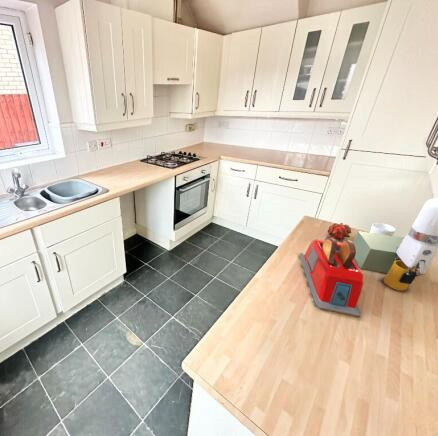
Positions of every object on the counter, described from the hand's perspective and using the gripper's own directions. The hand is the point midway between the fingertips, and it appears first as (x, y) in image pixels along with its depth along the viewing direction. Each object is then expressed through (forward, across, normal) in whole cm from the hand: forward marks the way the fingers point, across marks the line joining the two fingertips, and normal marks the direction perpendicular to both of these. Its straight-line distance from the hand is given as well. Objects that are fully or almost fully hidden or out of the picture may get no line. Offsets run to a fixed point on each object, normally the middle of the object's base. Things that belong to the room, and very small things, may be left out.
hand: (399, 275), depth 89 cm
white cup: (+5, +29, -4) cm, 30 cm away
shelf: (+4, +14, 0) cm, 15 cm away
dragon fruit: (+5, +30, +11) cm, 32 cm away
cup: (+4, 0, 0) cm, 4 cm away
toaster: (+4, -6, +24) cm, 25 cm away
